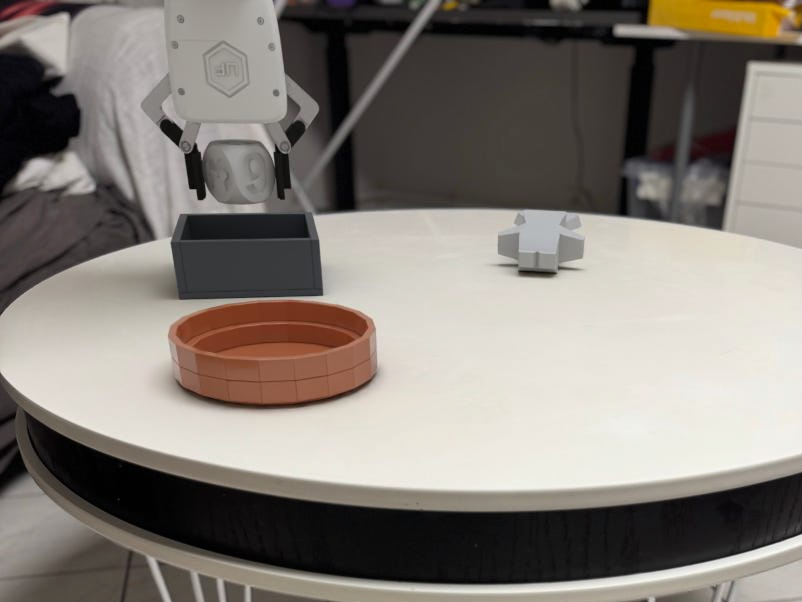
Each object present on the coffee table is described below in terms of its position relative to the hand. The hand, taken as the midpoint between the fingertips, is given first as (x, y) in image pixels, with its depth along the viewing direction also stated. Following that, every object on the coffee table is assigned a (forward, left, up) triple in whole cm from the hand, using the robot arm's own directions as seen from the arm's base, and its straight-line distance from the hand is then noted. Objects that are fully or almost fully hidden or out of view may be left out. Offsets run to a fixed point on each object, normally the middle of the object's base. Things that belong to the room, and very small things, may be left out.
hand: (241, 196), depth 88 cm
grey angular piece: (+32, +5, -8) cm, 33 cm away
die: (0, 0, -1) cm, 1 cm away
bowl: (+2, -29, -8) cm, 30 cm away
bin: (0, 0, -8) cm, 8 cm away
